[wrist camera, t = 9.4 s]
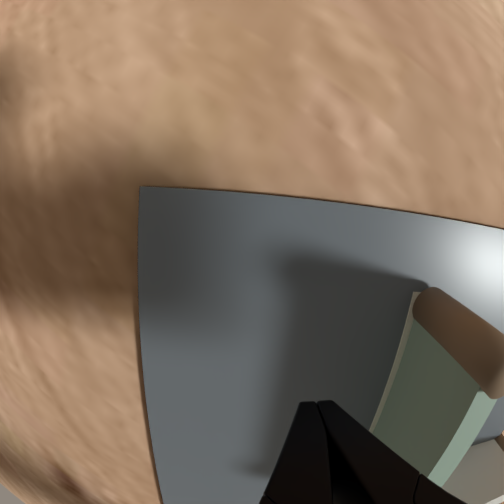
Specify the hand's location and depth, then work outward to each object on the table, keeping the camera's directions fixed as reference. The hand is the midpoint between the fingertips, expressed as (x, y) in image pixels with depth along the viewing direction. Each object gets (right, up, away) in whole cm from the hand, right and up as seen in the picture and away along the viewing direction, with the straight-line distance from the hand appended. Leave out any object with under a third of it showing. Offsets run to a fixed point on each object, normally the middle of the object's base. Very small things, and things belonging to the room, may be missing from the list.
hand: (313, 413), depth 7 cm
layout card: (+5, -4, +6) cm, 9 cm away
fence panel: (+5, -3, +5) cm, 8 cm away
